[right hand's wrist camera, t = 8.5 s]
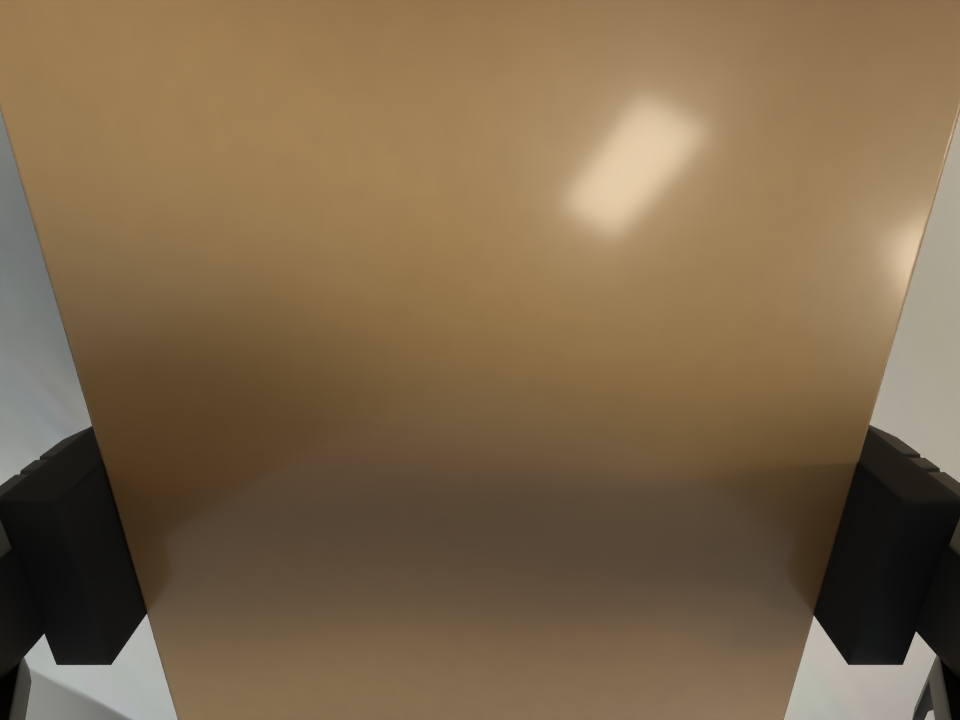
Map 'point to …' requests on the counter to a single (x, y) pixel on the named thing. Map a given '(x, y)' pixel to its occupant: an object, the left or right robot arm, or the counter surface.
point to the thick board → (480, 330)
